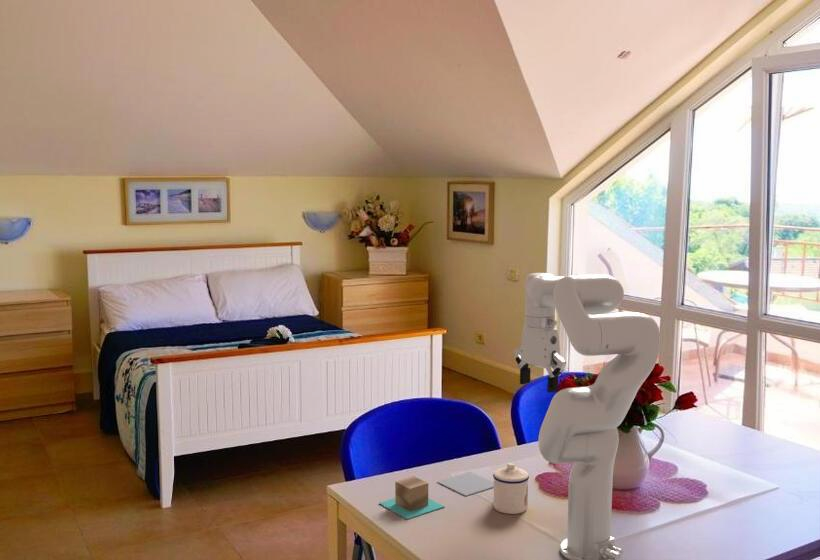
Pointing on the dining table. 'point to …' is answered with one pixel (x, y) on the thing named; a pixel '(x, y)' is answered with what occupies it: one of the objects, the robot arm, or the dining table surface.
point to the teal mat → (411, 514)
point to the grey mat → (467, 483)
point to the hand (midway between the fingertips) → (538, 387)
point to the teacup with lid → (510, 489)
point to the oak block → (411, 493)
